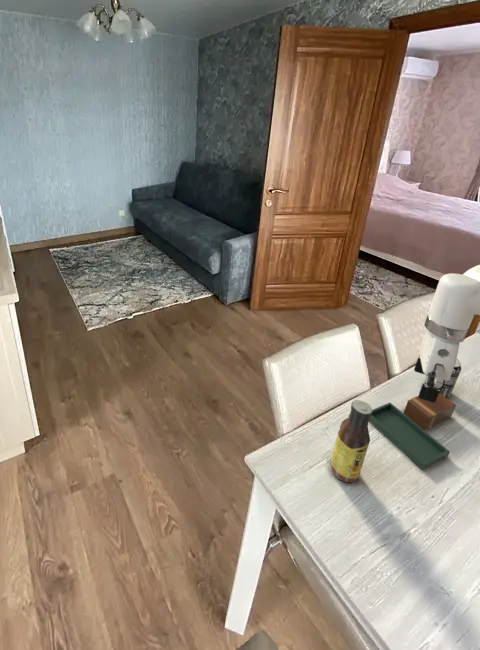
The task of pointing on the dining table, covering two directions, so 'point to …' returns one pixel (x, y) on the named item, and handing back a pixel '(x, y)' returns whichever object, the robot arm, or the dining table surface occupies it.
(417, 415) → the walnut box
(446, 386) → the beverage can
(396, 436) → the tray
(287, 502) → the dining table surface
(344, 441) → the sauce bottle
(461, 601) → the dining table surface
